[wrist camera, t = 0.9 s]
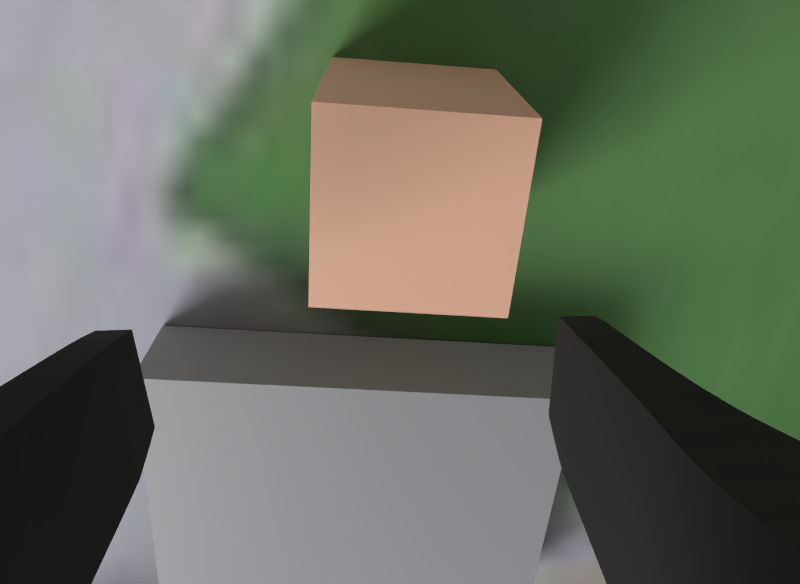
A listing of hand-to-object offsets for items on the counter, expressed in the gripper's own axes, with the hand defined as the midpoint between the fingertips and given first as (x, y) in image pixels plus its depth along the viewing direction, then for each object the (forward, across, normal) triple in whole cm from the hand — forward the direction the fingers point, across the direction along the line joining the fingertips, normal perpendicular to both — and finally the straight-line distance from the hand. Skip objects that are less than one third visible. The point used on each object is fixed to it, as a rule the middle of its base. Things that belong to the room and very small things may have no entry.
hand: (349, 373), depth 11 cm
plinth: (+10, +1, +10) cm, 14 cm away
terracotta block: (+10, -1, -1) cm, 10 cm away
